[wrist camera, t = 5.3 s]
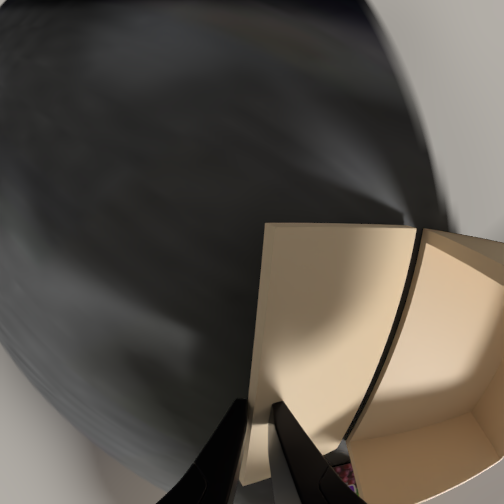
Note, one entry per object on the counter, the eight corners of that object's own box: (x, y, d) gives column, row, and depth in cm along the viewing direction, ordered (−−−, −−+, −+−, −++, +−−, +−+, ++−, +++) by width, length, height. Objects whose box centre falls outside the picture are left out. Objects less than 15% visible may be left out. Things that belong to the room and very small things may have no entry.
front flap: (416, 228, 9) (275, 227, 6) (336, 448, 12) (242, 486, 10) (404, 224, 9) (263, 221, 7) (331, 442, 13) (238, 478, 10)
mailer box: (540, 251, 9) (602, 284, 3) (469, 411, 13) (500, 461, 7) (423, 227, 9) (539, 285, 3) (345, 441, 13) (364, 520, 7)
